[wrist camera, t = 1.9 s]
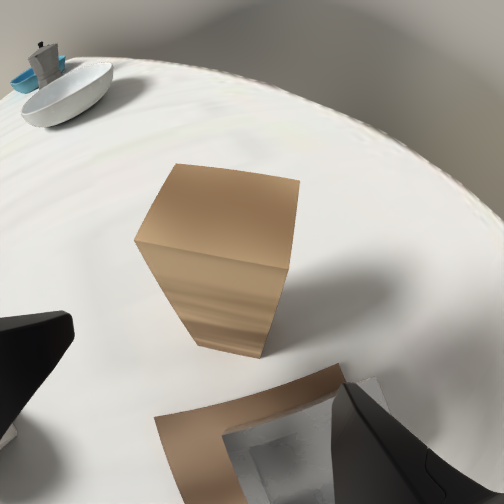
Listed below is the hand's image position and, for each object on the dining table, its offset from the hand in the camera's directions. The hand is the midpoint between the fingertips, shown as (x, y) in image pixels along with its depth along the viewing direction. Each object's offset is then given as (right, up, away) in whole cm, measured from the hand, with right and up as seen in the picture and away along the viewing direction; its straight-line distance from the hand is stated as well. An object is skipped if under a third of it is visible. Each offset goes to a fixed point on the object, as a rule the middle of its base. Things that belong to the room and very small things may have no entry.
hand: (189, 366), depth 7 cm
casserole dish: (-83, +71, +56) cm, 123 cm away
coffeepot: (-53, +48, +42) cm, 83 cm away
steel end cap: (+6, -10, +6) cm, 13 cm away
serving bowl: (-35, +32, +33) cm, 57 cm away
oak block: (0, -2, +12) cm, 12 cm away
